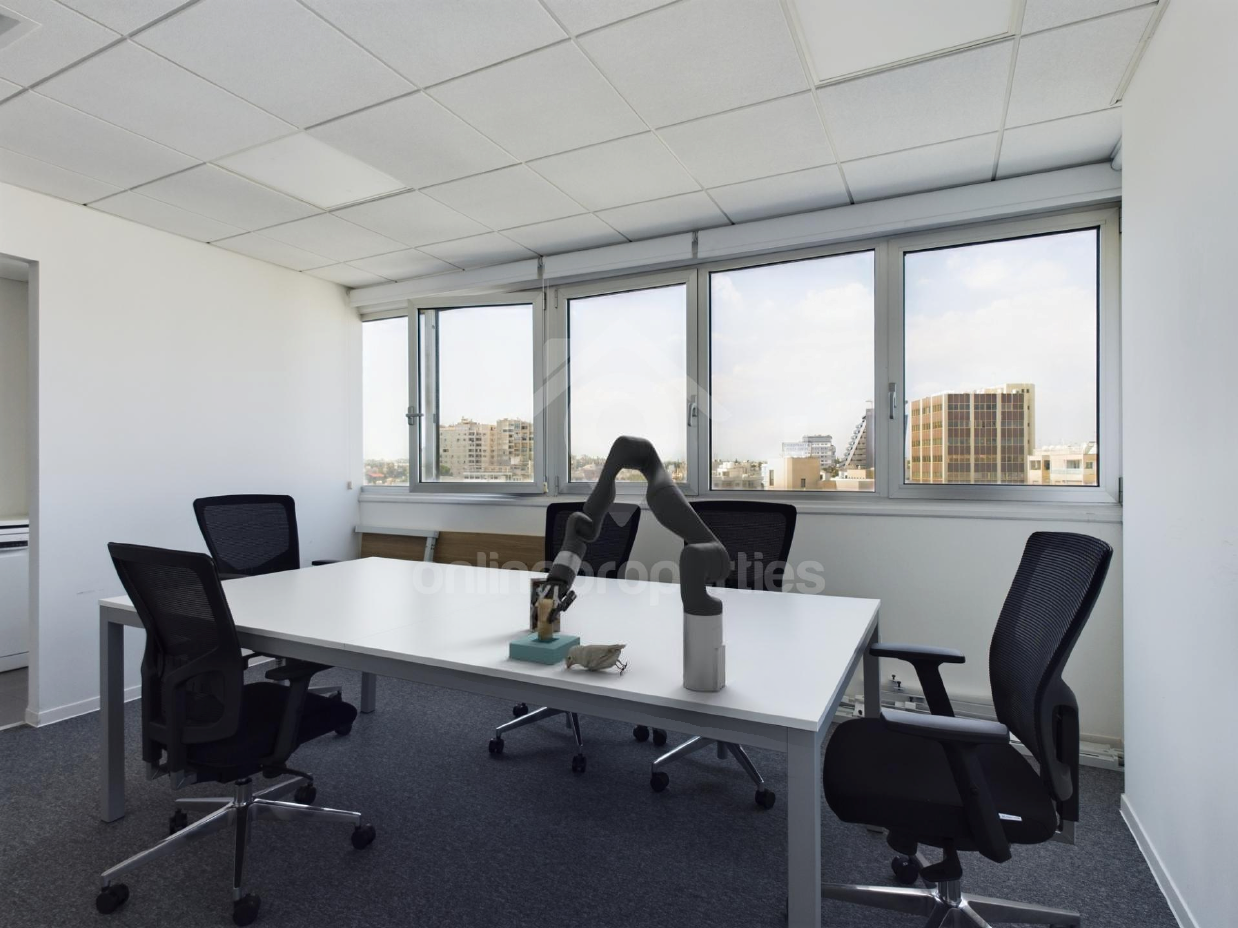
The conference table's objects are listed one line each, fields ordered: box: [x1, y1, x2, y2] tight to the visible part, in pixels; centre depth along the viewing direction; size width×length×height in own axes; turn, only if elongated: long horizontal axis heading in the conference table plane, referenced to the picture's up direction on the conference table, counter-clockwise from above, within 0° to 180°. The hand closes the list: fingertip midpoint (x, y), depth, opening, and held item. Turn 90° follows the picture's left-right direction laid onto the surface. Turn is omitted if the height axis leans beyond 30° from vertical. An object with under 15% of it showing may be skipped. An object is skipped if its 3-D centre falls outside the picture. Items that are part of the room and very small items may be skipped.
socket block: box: [508, 632, 581, 666], centre depth 177 cm, size 14×14×4 cm
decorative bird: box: [565, 643, 628, 676], centre depth 164 cm, size 5×16×8 cm, turn 73°
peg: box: [538, 599, 554, 639], centre depth 178 cm, size 4×4×10 cm
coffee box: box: [529, 577, 562, 633], centre depth 206 cm, size 9×6×16 cm
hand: (541, 621), depth 176 cm, fingers closed on peg, 4 cm apart
